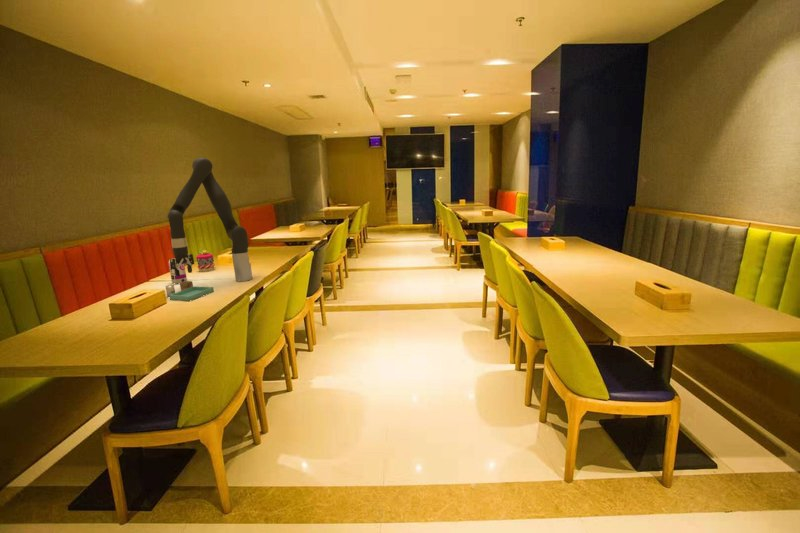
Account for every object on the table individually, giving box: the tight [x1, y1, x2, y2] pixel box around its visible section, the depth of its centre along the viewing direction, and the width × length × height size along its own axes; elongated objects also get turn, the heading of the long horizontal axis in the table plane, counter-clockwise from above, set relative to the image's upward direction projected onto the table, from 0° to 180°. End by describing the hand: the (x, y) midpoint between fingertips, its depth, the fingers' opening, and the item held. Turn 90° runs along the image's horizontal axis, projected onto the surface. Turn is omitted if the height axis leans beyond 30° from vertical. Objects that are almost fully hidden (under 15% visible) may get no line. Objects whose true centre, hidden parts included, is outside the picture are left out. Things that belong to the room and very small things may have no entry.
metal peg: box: [165, 284, 176, 298], centre depth 221 cm, size 4×4×6 cm
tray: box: [169, 285, 215, 302], centre depth 221 cm, size 17×13×3 cm
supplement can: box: [168, 257, 188, 285], centre depth 249 cm, size 8×8×15 cm
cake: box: [195, 248, 215, 273], centre depth 279 cm, size 10×11×15 cm
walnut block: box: [179, 280, 194, 291], centre depth 231 cm, size 4×4×5 cm
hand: (184, 274), depth 229 cm, fingers open, 8 cm apart
